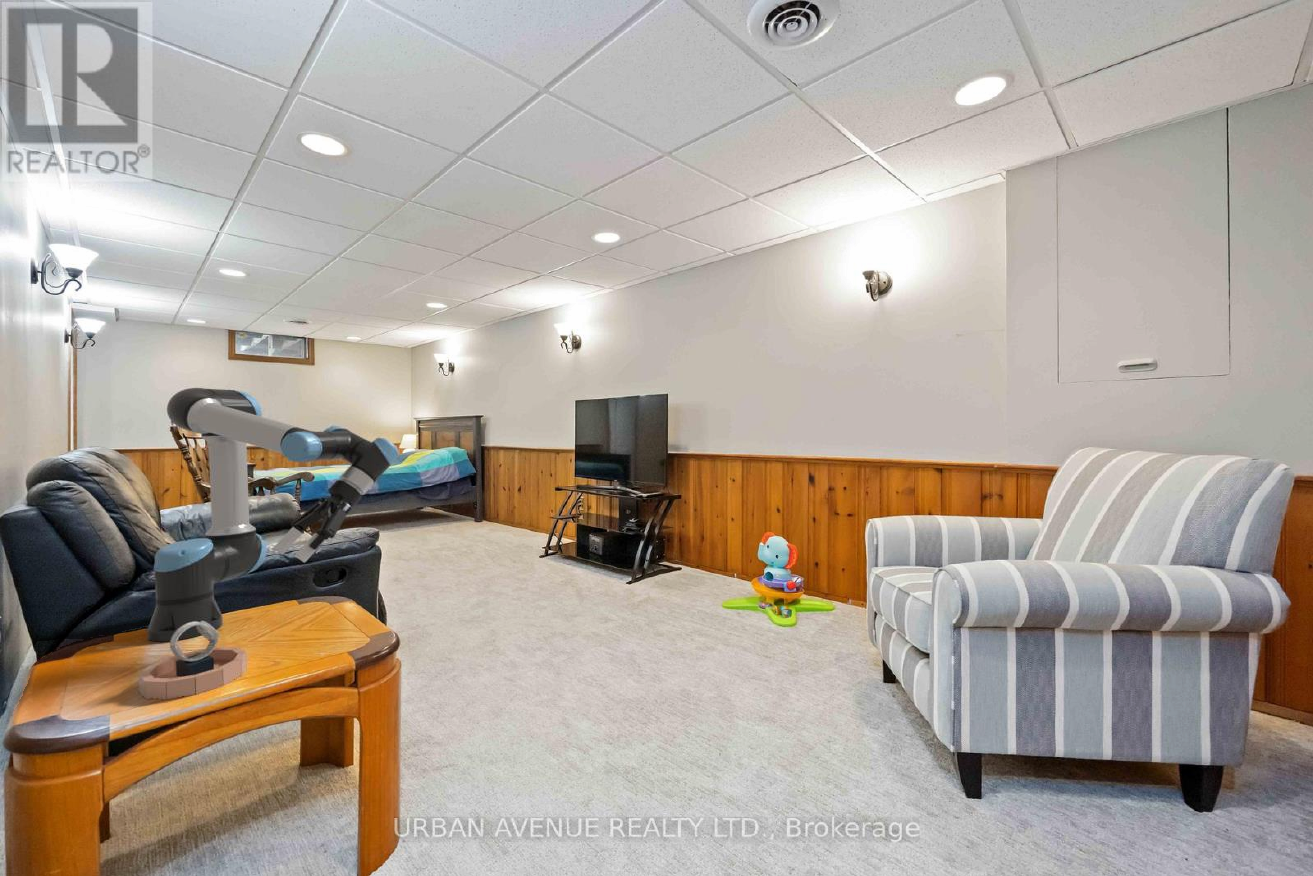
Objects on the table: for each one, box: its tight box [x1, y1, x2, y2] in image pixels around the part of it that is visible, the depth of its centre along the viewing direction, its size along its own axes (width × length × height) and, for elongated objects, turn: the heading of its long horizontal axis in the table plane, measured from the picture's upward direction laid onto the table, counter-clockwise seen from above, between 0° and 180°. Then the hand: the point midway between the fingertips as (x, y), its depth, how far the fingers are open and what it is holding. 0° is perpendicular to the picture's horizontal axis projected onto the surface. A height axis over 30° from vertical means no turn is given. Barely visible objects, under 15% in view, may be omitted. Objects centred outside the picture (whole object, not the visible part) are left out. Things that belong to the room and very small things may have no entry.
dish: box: [138, 646, 248, 700], centre depth 117 cm, size 17×17×4 cm
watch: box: [169, 621, 220, 677], centre depth 117 cm, size 6×8×11 cm
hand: (288, 555), depth 134 cm, fingers open, 13 cm apart
